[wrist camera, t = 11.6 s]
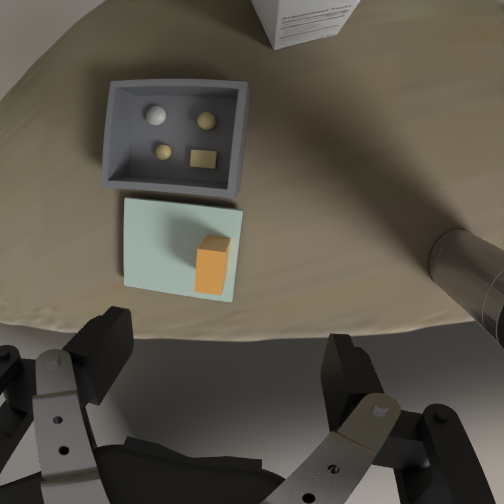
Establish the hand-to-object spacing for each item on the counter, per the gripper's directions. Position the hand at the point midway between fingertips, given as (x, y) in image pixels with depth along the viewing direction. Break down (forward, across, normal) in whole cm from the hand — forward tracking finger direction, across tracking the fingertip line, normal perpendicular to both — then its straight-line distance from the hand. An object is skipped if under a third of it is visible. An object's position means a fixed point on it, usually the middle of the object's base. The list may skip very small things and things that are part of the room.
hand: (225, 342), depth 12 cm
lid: (+29, +9, +5) cm, 31 cm away
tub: (+28, +10, -9) cm, 31 cm away
